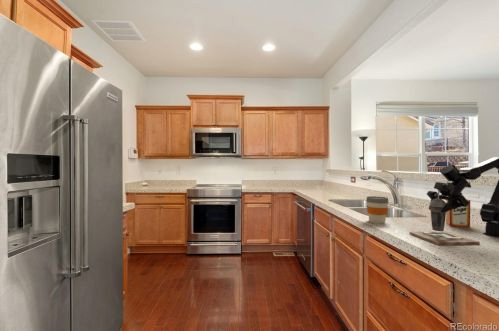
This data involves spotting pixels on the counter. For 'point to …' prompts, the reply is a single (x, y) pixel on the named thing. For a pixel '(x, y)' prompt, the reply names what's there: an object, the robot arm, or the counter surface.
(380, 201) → the reusable coffee cup
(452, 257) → the counter surface
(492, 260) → the counter surface
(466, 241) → the base board
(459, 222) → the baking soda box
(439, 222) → the beverage cup
